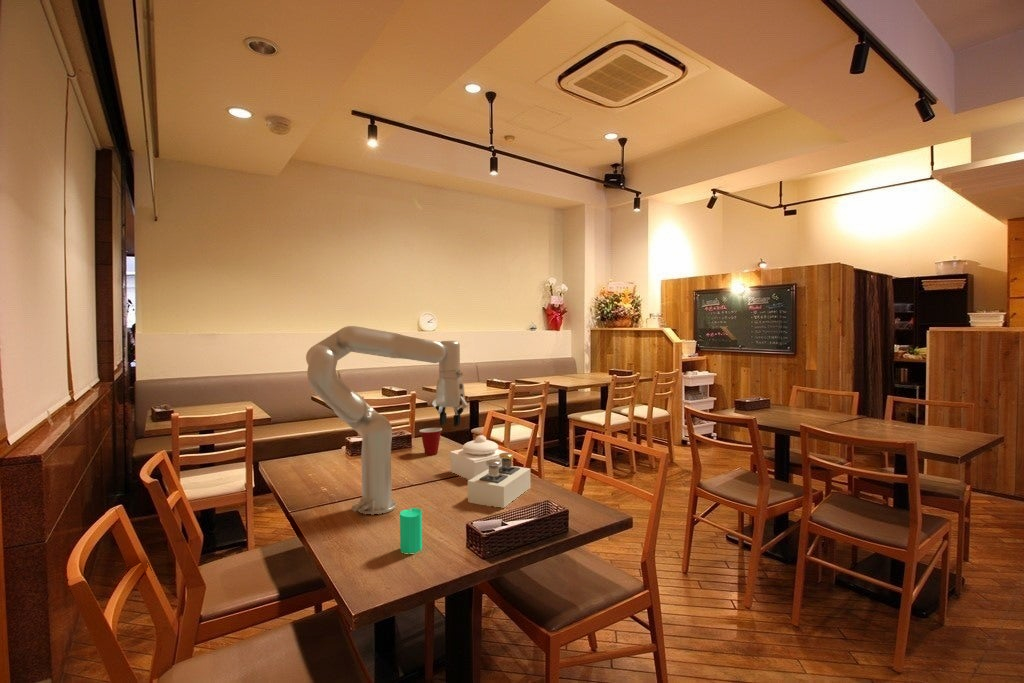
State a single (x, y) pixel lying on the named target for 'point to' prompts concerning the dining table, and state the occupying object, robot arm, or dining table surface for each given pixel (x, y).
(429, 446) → the plastic cup
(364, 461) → the robot arm
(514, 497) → the socket block
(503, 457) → the brass-capped peg
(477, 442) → the butter dish
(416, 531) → the candle
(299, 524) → the dining table surface
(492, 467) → the grey peg
